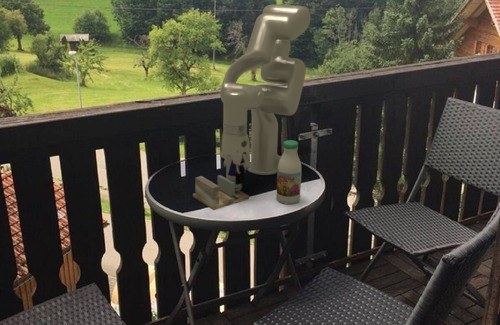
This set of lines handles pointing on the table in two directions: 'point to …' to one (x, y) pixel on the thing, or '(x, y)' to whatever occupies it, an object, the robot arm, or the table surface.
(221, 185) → the grey rectangular plate
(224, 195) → the board
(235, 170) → the energy drink
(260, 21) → the robot arm
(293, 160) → the milk bottle
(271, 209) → the table surface
